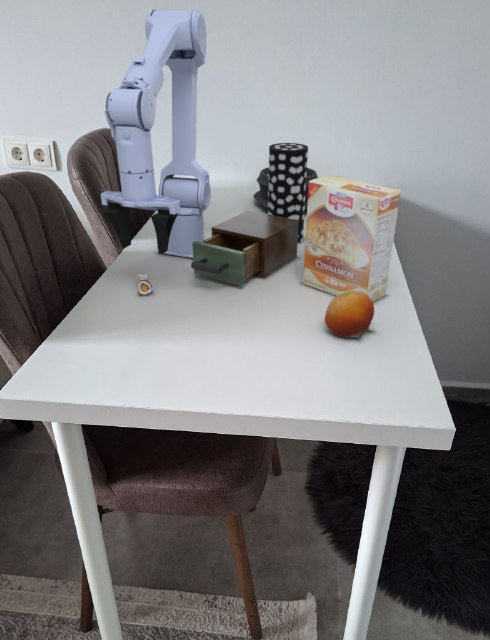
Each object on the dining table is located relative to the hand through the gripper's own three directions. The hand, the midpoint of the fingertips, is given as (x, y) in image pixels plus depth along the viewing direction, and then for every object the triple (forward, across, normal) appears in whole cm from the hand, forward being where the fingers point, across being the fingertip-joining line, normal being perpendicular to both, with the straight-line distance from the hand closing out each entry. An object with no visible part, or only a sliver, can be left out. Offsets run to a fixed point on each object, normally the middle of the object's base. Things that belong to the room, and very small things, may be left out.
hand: (144, 249), depth 103 cm
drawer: (+8, +11, +13) cm, 18 cm away
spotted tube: (+9, +14, +39) cm, 42 cm away
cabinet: (+8, +13, +23) cm, 27 cm away
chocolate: (+9, 0, 0) cm, 9 cm away
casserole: (+8, +5, +66) cm, 66 cm away
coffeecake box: (+9, +34, +16) cm, 38 cm away
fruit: (+9, +38, 0) cm, 39 cm away
